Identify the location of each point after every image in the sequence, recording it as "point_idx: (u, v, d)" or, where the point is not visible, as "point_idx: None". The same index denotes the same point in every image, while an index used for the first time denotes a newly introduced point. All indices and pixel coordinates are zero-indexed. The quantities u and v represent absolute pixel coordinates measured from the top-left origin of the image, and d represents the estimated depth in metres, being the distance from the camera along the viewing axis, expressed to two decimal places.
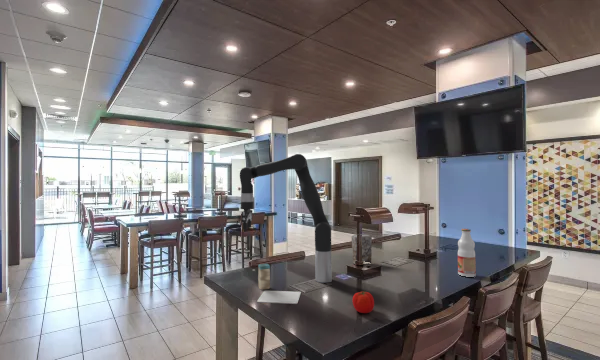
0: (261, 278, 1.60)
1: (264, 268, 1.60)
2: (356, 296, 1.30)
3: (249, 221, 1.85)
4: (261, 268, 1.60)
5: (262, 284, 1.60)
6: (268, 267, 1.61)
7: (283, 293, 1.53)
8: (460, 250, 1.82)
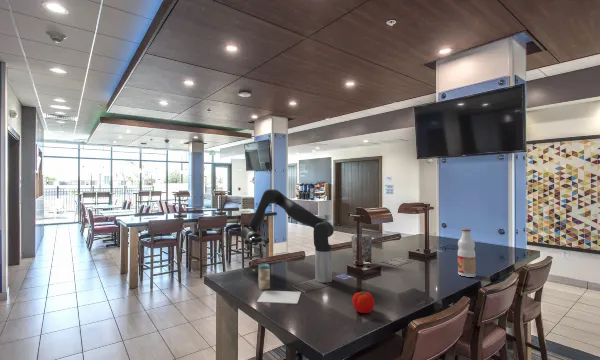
0: (261, 278, 1.60)
1: (264, 268, 1.61)
2: (356, 296, 1.30)
3: (264, 240, 1.78)
4: (261, 268, 1.60)
5: (262, 284, 1.60)
6: (268, 267, 1.61)
7: (283, 293, 1.53)
8: (460, 250, 1.82)
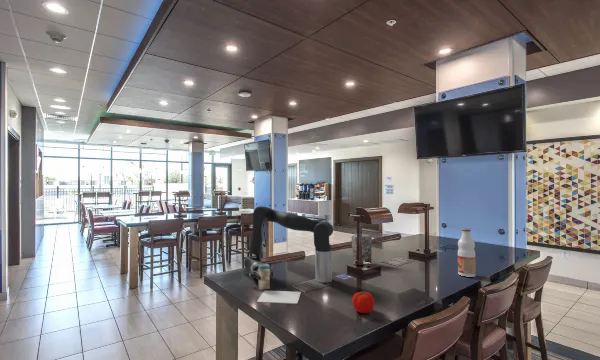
0: (261, 278, 1.60)
1: (264, 268, 1.60)
2: (356, 296, 1.30)
3: None
4: (261, 268, 1.60)
5: (262, 284, 1.60)
6: (268, 267, 1.61)
7: (283, 293, 1.53)
8: (460, 250, 1.82)
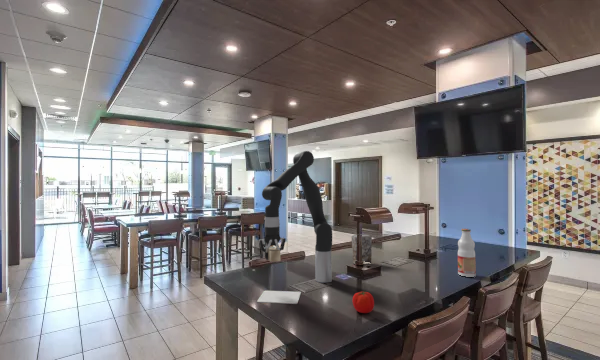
0: None
1: None
2: (356, 296, 1.30)
3: (267, 251, 1.55)
4: None
5: None
6: None
7: (283, 293, 1.53)
8: (460, 250, 1.82)
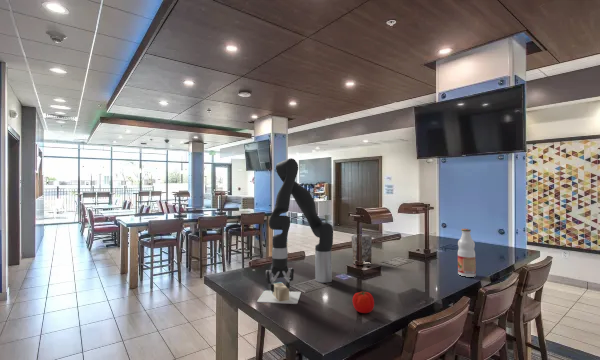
0: None
1: None
2: (356, 296, 1.30)
3: None
4: None
5: None
6: None
7: None
8: (460, 250, 1.82)
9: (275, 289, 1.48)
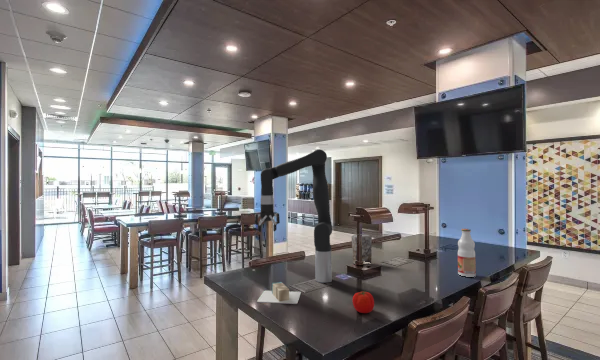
0: None
1: None
2: (356, 296, 1.30)
3: None
4: None
5: None
6: None
7: None
8: (460, 250, 1.82)
9: (275, 289, 1.48)
